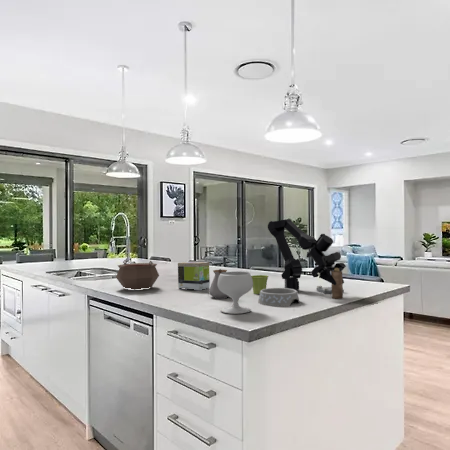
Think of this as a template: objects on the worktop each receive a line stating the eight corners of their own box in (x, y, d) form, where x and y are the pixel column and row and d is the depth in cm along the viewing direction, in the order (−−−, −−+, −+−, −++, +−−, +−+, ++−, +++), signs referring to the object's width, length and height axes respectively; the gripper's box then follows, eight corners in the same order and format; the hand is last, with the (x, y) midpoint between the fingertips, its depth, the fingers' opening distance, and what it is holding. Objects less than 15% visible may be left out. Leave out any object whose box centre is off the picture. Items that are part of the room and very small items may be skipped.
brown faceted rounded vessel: (106, 290, 211) (106, 260, 211) (139, 284, 231) (138, 257, 231) (136, 293, 197) (135, 262, 198) (168, 287, 217) (167, 258, 217)
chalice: (260, 311, 148) (260, 273, 148) (232, 317, 140) (231, 276, 140) (239, 306, 159) (238, 270, 159) (211, 310, 151) (210, 273, 151)
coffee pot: (209, 295, 187) (208, 265, 188) (232, 294, 187) (231, 264, 188) (207, 303, 166) (206, 269, 166) (233, 303, 166) (232, 268, 166)
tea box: (210, 288, 210) (209, 261, 210) (199, 291, 202) (199, 263, 202) (188, 286, 218) (188, 261, 218) (177, 289, 210) (177, 262, 210)
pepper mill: (334, 299, 170) (333, 268, 170) (330, 297, 175) (329, 267, 175) (344, 298, 171) (343, 267, 171) (340, 296, 176) (339, 267, 176)
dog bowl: (307, 301, 167) (306, 289, 167) (282, 308, 154) (282, 295, 154) (276, 297, 179) (275, 286, 179) (250, 303, 166) (250, 291, 166)
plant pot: (246, 293, 190) (245, 276, 190) (257, 291, 196) (257, 274, 197) (261, 295, 183) (260, 277, 183) (272, 293, 190) (272, 275, 190)
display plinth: (324, 293, 185) (324, 288, 185) (316, 290, 194) (316, 285, 194) (343, 292, 186) (343, 287, 186) (334, 289, 196) (334, 284, 196)
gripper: (315, 247, 171) (336, 274, 162) (341, 245, 182) (362, 270, 173) (303, 263, 177) (322, 290, 168) (329, 261, 188) (348, 286, 179)
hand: (339, 283), depth 172 cm, fingers open, 5 cm apart
